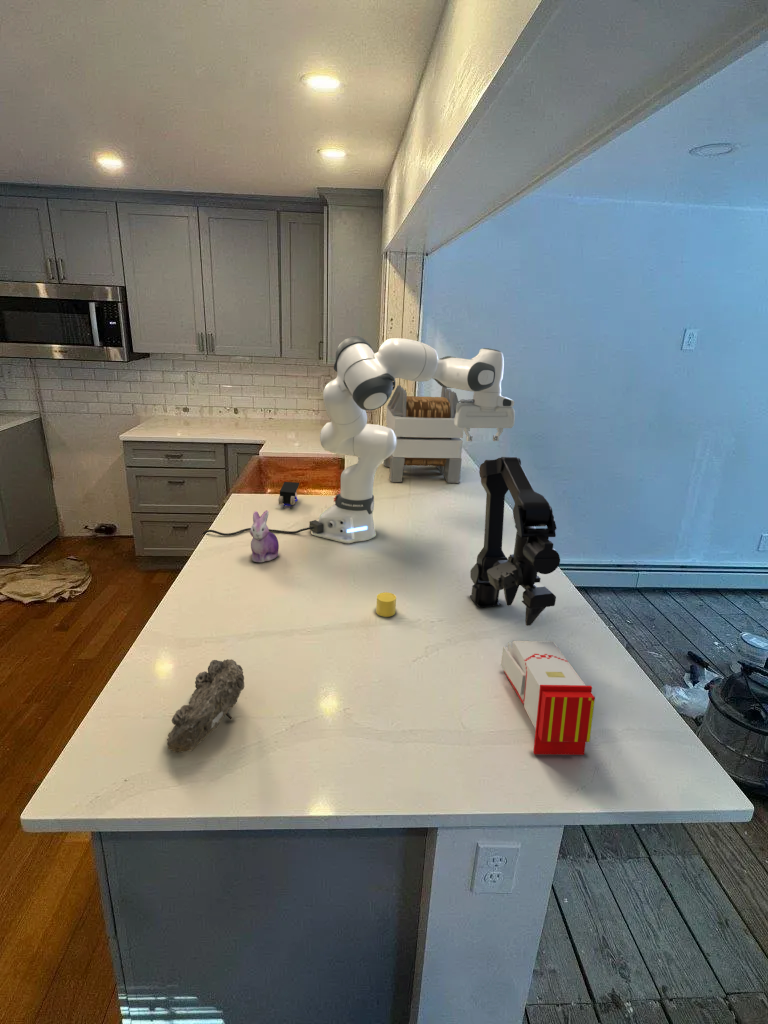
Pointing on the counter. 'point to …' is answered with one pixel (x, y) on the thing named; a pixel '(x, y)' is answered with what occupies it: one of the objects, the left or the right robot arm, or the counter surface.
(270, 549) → the figurine
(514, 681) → the toy
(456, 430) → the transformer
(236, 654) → the counter surface
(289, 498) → the black toy vehicle
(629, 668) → the counter surface
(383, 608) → the yellow cylinder
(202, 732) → the fossil
